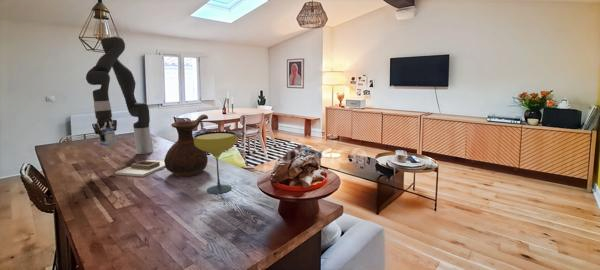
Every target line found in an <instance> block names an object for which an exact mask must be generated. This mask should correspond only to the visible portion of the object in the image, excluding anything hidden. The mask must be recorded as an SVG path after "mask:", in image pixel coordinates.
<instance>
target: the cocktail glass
mask: <svg viewBox="0 0 600 270" xmlns="http://www.w3.org/2000/svg"><path fill="white" fill-rule="evenodd" d="M193 138H194V145H195V146H196V147H197V148H199V149H200V150H203V151H206V153H208V154H211V155H212V157H214V158H215V160H216V162H215V163H216V171H217V172H216V173H217V174H216V175H217V183H216V185H212V186H210V187H208V188H207V189H206V192H207V193H208V194H210V195H211V194H212V195H220V194H225V193H229V192H230V191H231V190H232V186H231V185H229V184H228V185H227V184H221V181H220V172H219V159H218V158H220V157H221V155H222V154H223V153H224V152H225V151H227V150H229V149H231V148H232V147H233V146H235V144H236V143H237V138H238V137H237V133H235V132H233V131H225V130H224V131H223V130H222V131H220V130H219V131H207V132H201V133H198V134H195V135H194V136H193Z"/></svg>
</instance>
